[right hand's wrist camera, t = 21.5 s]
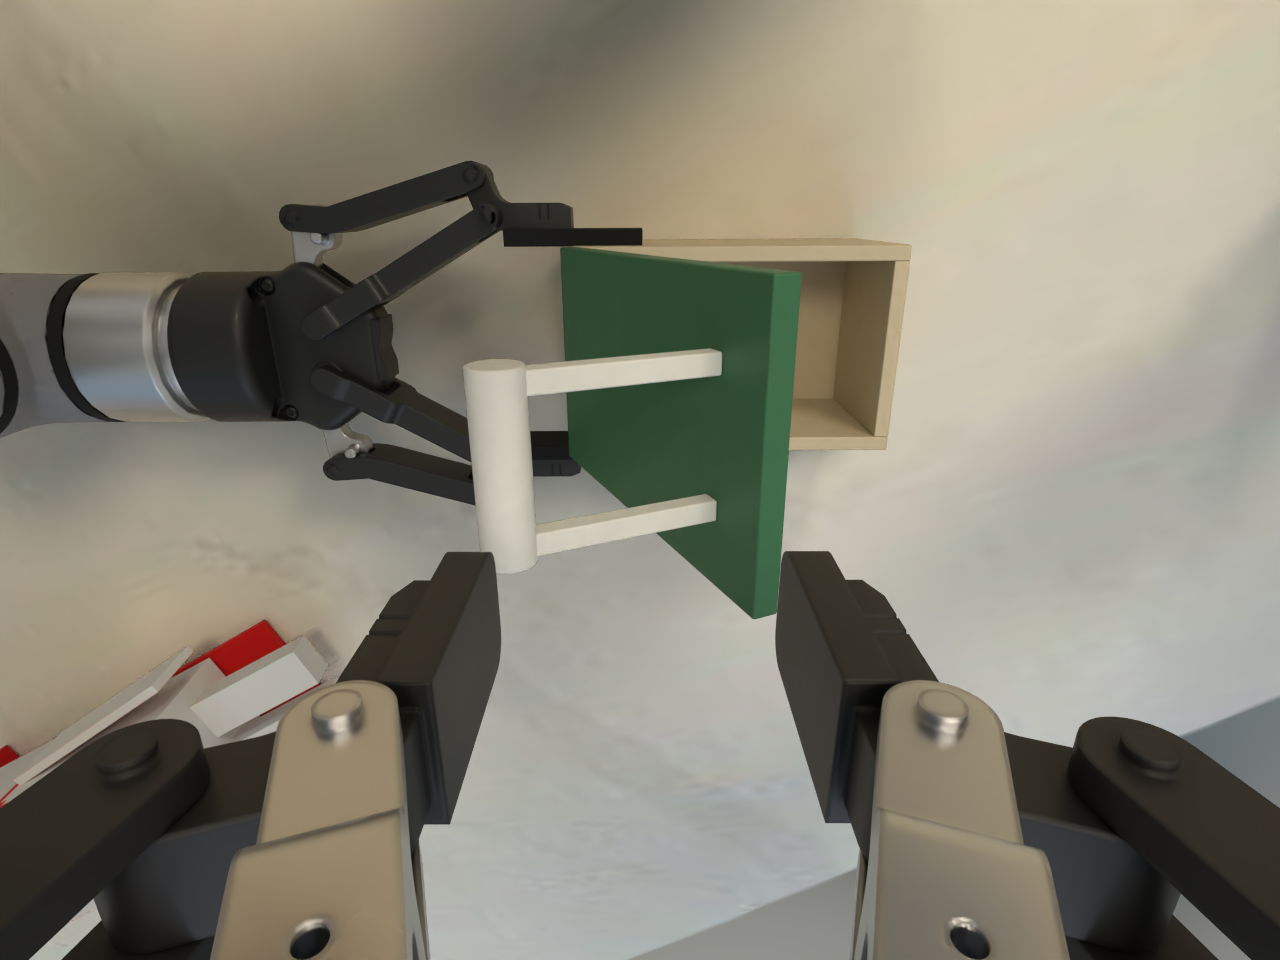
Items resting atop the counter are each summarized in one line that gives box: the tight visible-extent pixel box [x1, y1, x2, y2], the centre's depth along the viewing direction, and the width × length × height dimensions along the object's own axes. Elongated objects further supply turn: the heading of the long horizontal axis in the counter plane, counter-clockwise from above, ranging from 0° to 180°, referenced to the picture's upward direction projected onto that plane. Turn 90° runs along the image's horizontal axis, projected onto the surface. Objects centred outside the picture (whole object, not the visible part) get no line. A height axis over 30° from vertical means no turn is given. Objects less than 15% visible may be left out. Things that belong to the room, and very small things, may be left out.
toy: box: [0, 620, 339, 923], centre depth 47 cm, size 12×13×30 cm
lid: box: [463, 247, 802, 619], centre depth 25 cm, size 17×10×8 cm
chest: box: [572, 239, 912, 450], centre depth 38 cm, size 16×10×9 cm, turn 90°
